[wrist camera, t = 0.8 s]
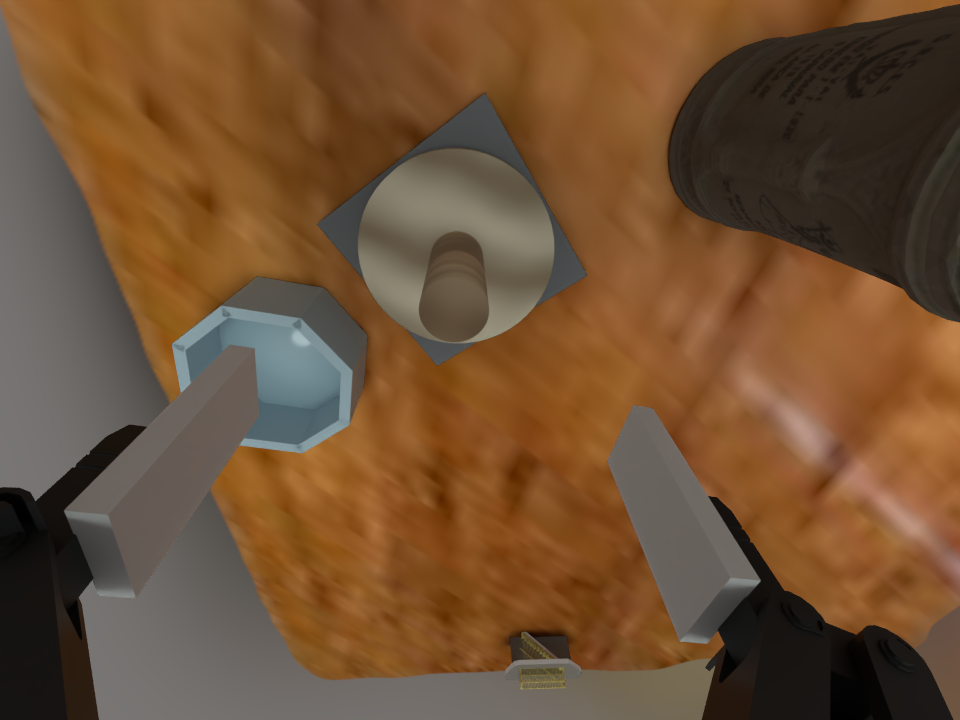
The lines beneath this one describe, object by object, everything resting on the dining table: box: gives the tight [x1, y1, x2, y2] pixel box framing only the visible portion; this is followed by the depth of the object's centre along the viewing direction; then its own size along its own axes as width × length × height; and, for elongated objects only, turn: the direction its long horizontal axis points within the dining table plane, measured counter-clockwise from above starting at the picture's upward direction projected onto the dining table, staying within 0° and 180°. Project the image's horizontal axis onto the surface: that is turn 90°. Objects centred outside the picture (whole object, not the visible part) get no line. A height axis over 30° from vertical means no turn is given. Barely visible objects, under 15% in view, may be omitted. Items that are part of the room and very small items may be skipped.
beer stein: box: [669, 4, 960, 322], centre depth 21 cm, size 15×11×20 cm
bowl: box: [172, 277, 368, 453], centre depth 33 cm, size 12×12×6 cm
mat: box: [317, 93, 587, 366], centre depth 31 cm, size 14×14×1 cm
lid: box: [358, 147, 555, 343], centre depth 27 cm, size 14×14×11 cm
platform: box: [505, 632, 581, 689], centre depth 57 cm, size 12×18×7 cm, turn 90°
